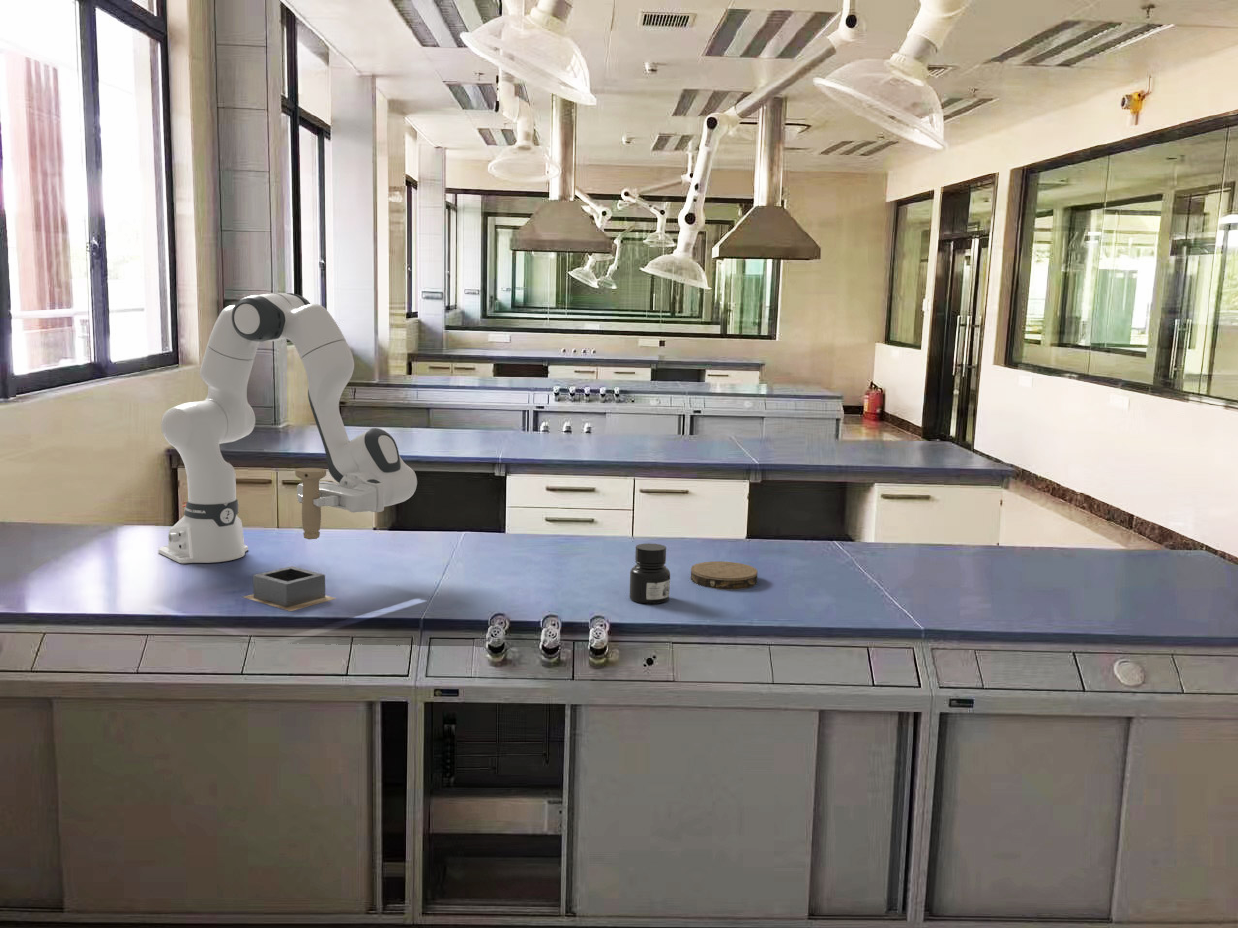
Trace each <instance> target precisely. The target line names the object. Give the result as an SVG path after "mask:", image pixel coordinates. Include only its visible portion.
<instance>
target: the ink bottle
mask: <svg viewBox="0 0 1238 928" xmlns="http://www.w3.org/2000/svg"><path fill="white" fill-rule="evenodd" d="M634 557H635V559H634V560H635V563H636V564H635V565H634V566H633V567H632V568H631V569H630V571H629V599H630V600H631V601H633V602H636V603H641V604H645V603H646V604H645V605H647V604H649V605H657V604H662V603H665V602H667V601H668V600H670V587H671V586H670V584H671V572H670V569H669V568H667V566H666V564H667V563H666V561H667V546H665V545H663V544H659V543H650V542H649V543H648V542H647V543H641V544H636V545H635V556H634Z"/></svg>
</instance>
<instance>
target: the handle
mask: <svg viewBox="0 0 1238 928" xmlns="http://www.w3.org/2000/svg"><path fill="white" fill-rule="evenodd" d="M294 474H295V477H296V478H298V479H300V480H301V481H302V483H303V497H302V503H301V524H302V531H303V532H302V534H303V538H304V539H306V540H317V539H319V538H320V535H321V531H320V530H321V523H322V511H321V510H322V507H317V506H314V505H313V503H314V502H313V499H314V498H317V497H320V494H319V481H321V480H323V478H325V477H326V476H327V469H326V468H319V467H299V468H295V470H294Z"/></svg>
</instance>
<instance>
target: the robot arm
mask: <svg viewBox="0 0 1238 928" xmlns="http://www.w3.org/2000/svg"><path fill="white" fill-rule="evenodd" d="M283 340H287V341H290V342H291V343H292V344H293V346H294V347H295V349H296V352H297V353H298V355H299V357H300V360H301V363H302V364H303V365H302V366H303V367H304V370H305V375H306V378H307V384H308V385H307V386H308V389H307V397H308V398H307V399H308V401H309V405H310V409H311V413H312V415H313V418H314V421H315V424H316V427H317V430H318V433H319V436H320V438H321V441H322V445H323V447H324V448H323V449H324V452H325V458H326V465H327V469H328V473H329V474H330V476H331V478H333V480H334V481H336V482H337V483H336V482H332V481H326V480H324V481H323V480H319V494H320V497H317V498H314V499H313V502H314V503H313V505H314V506H317V507H321V508H322V507H331V508H336V509H341V510H345V511H349V512H351V513H364V512H371V513H379V512H380V513H381V512H383V511H384V510H385V508H386V507H390V506H393V505H398V504H400V503H403V502H406V501H407V500H409V499H410V498H411V497H412V496H413V495H414V493H415V492H416V489H417V485H418V478H417V475H416V473H415V471H414V469H412V468H411V466H409V465H407V464H406V463H405V462H404V460H403V459H402V457H401V455H400V451H399V447H398V445H397V441H395V439H394V437H393V436H392V435H391V434H390V433H388V432H387V431H385V430H384V429H381V428H376V427H375V428H374V427H373V428H370V429H368V430H366V431H364V432H363V433H361V434H359V435H357V436H356V437H354V438H353V439H351V440H350V439H349V436H348V433H347V431H346V428H345V425H344V422H343V419H342V416H341V413H340V399H341V397H342V394H343V392H344V390H345V388H346V386H347V385H348V383H349V382H350V381H351V379H352V377H353V376H352V375H353V373H354V370H355V360H354V357H353V353H352V351H351V348H350V346H349V343H348V342H347V340H346V338H345V336H344V334H343V332H342V330H341V329H340V327H339V325H338V324H337V322H336V321H335V319H334V318H333V316H332V315H331V313H330V312H329V310H328V309H327V308H326V307H325V306H323V305H321V304H318V303H315V304H314V303H311V302H309V300H308V299H306V298H305V297H304V296H301V295H299V294H297V293H296V294H295V293H292V292H287V293H284V292H268V293H263V294H253V295H252V294H251V295H249V296H245V297H243V298H241V299H239V300H238V301H237V302H236V303H235V304H232V305H228V306H226V307H224V308H223V309H222V310H221V312H220V313H219V314H218V317H217V318H216V321H215V323H214V325H213V327H212V330H211V333H210V335H209V338H208V341H207V345H206V348H205V351H204V354H203V358H202V361H201V366H200V369H199V376H200V378H201V380H202V381H203V382H204V383H205V384H206V385H207V396H206V398H205V399H204V400H199V401H197V400H196V401H191V402H190V401H187V402H183V403H181V404H178V405H175V406H173V407H171V408H169V409H168V410H166V411H165V412H164V413H163V415H162V418H161V423H160V429H161V434H162V435H163V437H164V440H165V441H166V442H167V443H168V444H169V445H170V446H171V447H174V448H175V450H176V451H177V452H178V454H179V455H180V458H181V460H182V463H183V465H184V468H185V473H186V474H185V475H186V485H187V498H188V499H187V501H185V502H182V504H184V505H182V508H184V512H183V517H181V518H180V519H179V520H178V521H177V522H176V523H175V524H174V525H172V526H171V528H169V530H168V536H167V539H168V540H167V541H168V544H167V545H164V546H161V547H159V548H158V551H157V552H158V554H161V555H163V556H164V557H166V558H169V559H171V560H173V561H175V562H177V563H179V564H194V563H195V564H197V563H198V564H199V563H200V564H201V563H207V564H209V563H221V562H229V561H232V560H237V559H240V558H242V557H244V556H245V555H246V552H247V551H248V550H249V547H248V545H246V544H245V539H244V530H243V529H244V528H243V522H242V520H241V518H240V517H238V514H239V512H240V511H239V500H238V498H237V491H236V490H237V484H236V482H237V481H236V470H235V468H234V466H233V465H232V464H231V463H230V462H227V461H226V460H225V459H224V457H223V454H222V452H221V449H220V445H221V444H228V443H233V442H236V441H238V440H241V439H243V438H245V437H247V436H249V435H250V434H251V433H252V432H253V430H254V429H255V426H256V415H255V410H254V409H253V408H252V406H251V404H250V403H249V402H248V397H247V396H248V395H247V393H248V385H249V384H248V383H249V379H250V376H251V373H252V368H253V365H254V361H255V358H256V355H257V352H258V348H259V345H260V343H263V342H278V341H283ZM302 497H303V482H299V484H297V486H296V498H297V502H298V503H299V504H302Z"/></svg>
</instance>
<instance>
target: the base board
mask: <svg viewBox="0 0 1238 928" xmlns="http://www.w3.org/2000/svg"><path fill="white" fill-rule="evenodd" d="M243 598H244V599H247V600H251V601H255V602H258V603H261V604H265V605H268V606H271V607H275V608H279V609H280V610H285V611H288V612H292V611H297V610H301V609H305V608H307V607H310V606H314V605H319V604H322V603H326V602H330V601H333V600H337V599H338V598H337V597H332V596H329V595H326V594H325V598H321V599H317V600H314V601H310V602H306V603H302V604H299V605H295V606H291V607H288V608H286V607H283V606H279V605H276V604H272V603H269V602H266V601H262V600H259V599H255V598H254V593H252V594H249V595H245V596H243Z"/></svg>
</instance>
